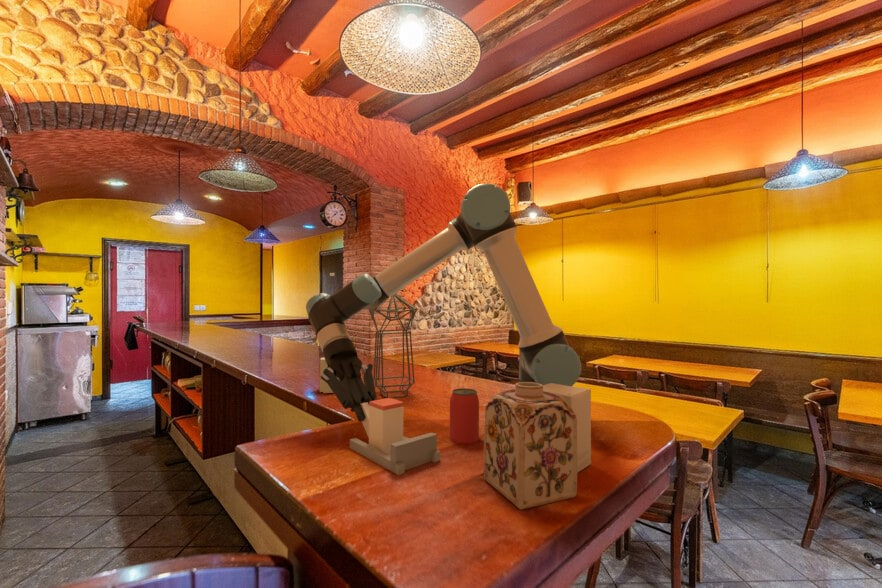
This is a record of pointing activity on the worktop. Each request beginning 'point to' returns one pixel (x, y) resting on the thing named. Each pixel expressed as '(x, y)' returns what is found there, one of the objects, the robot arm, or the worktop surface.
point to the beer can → (464, 416)
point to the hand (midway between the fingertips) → (373, 432)
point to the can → (323, 385)
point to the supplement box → (582, 408)
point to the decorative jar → (530, 446)
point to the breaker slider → (385, 423)
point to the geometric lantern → (393, 333)
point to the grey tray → (401, 452)
